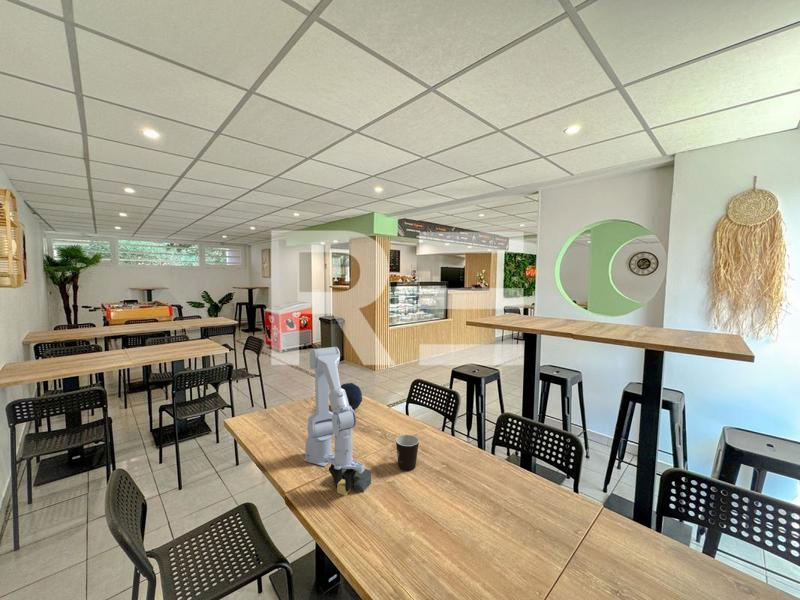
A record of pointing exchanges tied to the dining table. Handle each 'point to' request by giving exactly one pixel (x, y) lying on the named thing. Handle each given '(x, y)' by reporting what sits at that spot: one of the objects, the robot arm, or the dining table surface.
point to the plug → (343, 487)
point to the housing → (360, 479)
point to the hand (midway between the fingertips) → (343, 487)
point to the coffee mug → (407, 451)
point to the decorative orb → (353, 394)
